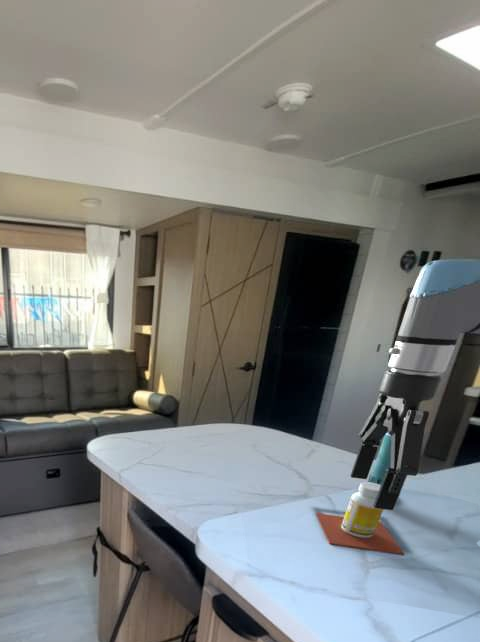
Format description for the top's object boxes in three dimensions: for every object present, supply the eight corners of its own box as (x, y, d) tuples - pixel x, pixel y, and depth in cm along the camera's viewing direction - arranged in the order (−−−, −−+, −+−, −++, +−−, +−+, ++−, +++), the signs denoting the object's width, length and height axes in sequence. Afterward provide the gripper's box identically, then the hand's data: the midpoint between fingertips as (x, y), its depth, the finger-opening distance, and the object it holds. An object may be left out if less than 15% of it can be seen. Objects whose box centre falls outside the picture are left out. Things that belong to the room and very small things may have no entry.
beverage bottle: (401, 503, 90) (436, 415, 81) (387, 511, 86) (423, 419, 77) (369, 492, 94) (400, 407, 86) (355, 499, 91) (386, 411, 82)
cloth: (380, 522, 82) (380, 521, 81) (404, 555, 71) (404, 553, 71) (315, 514, 84) (316, 512, 84) (329, 544, 74) (329, 542, 74)
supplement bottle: (334, 526, 79) (349, 481, 75) (355, 523, 81) (370, 478, 76) (358, 540, 74) (375, 493, 70) (379, 536, 76) (397, 490, 72)
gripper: (363, 360, 76) (330, 465, 86) (421, 383, 54) (368, 520, 64) (408, 363, 75) (370, 469, 84) (486, 387, 53) (423, 528, 62)
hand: (369, 491), depth 74 cm, fingers open, 13 cm apart
